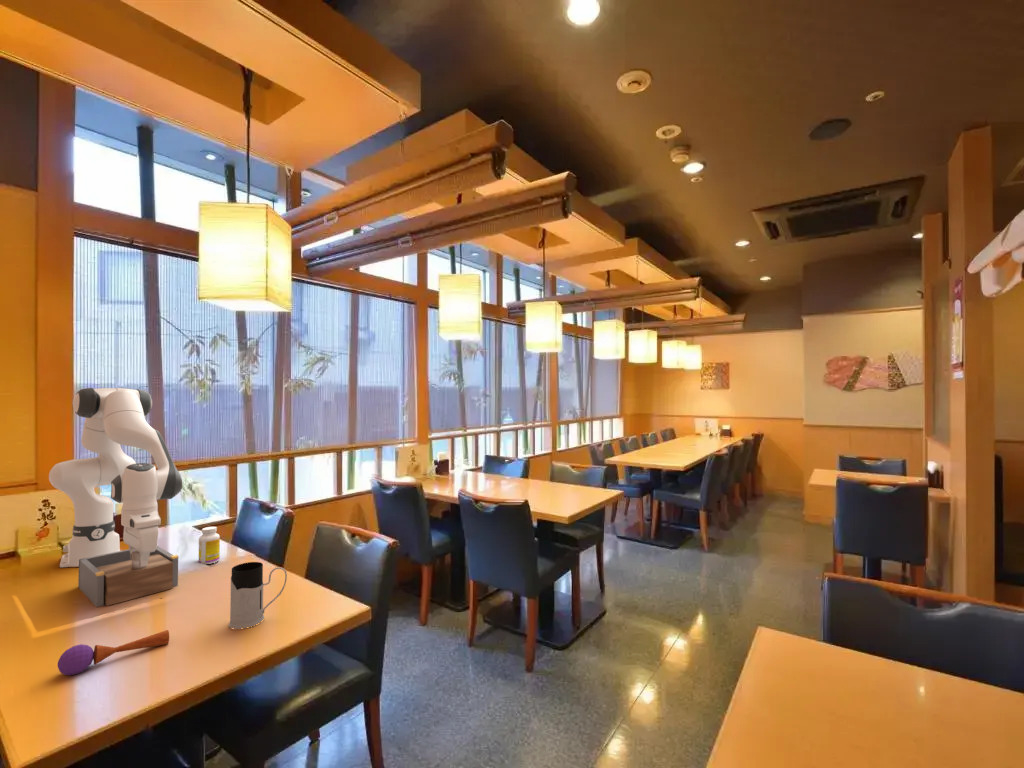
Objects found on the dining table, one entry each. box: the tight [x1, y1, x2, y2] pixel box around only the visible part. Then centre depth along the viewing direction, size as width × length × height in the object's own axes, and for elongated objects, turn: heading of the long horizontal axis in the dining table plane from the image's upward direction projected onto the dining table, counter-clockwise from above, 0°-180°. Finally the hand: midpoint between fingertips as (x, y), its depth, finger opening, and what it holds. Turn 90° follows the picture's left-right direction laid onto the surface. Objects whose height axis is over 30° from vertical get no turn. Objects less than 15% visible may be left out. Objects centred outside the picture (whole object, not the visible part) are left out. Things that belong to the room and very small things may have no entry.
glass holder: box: [227, 561, 288, 630], centre depth 131 cm, size 9×14×15 cm, turn 111°
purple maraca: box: [57, 629, 170, 676], centre depth 112 cm, size 6×6×20 cm
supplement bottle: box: [198, 526, 221, 565], centre depth 178 cm, size 7×7×13 cm
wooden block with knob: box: [96, 551, 174, 606], centre depth 149 cm, size 14×16×13 cm
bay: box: [77, 545, 179, 608], centre depth 153 cm, size 24×20×11 cm
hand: (138, 562), depth 146 cm, fingers open, 8 cm apart
